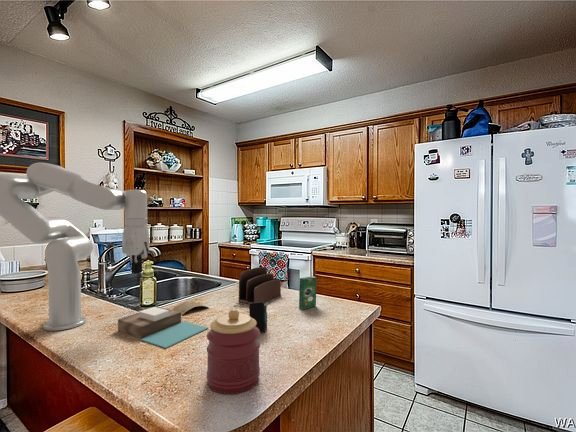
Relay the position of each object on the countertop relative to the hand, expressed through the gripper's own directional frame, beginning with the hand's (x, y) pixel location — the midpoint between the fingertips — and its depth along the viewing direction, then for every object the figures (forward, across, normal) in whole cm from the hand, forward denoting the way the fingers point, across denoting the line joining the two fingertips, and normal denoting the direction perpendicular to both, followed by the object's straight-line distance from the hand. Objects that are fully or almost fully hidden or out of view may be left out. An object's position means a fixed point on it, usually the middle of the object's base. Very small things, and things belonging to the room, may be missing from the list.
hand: (136, 272), depth 113 cm
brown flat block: (+19, +8, 0) cm, 20 cm away
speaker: (+19, +42, +17) cm, 49 cm away
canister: (+19, +55, -12) cm, 60 cm away
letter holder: (+19, +22, +49) cm, 57 cm away
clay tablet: (+20, +5, +21) cm, 29 cm away
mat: (+19, +21, 0) cm, 28 cm away
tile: (+15, +10, 0) cm, 18 cm away
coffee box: (+19, +47, +48) cm, 70 cm away
